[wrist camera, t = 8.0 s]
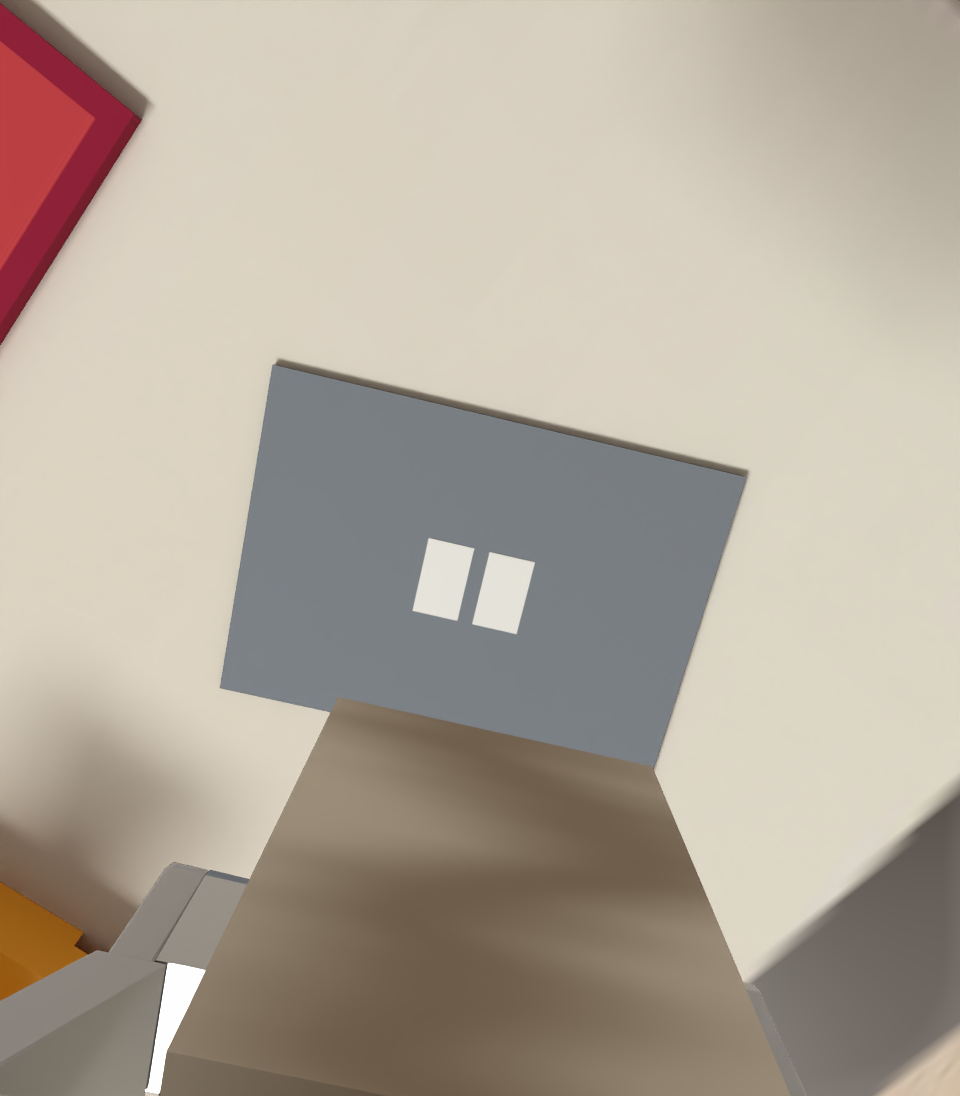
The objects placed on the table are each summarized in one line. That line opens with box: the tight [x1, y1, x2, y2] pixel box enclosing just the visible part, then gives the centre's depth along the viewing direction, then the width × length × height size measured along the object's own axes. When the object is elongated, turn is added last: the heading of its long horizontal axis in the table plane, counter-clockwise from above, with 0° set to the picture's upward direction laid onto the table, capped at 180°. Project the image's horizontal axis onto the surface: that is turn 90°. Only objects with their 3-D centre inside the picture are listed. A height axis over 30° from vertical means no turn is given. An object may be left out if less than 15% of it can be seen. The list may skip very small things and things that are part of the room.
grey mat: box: [220, 365, 746, 769], centre depth 28 cm, size 18×13×1 cm
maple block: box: [159, 697, 791, 1096], centre depth 9 cm, size 5×5×6 cm
